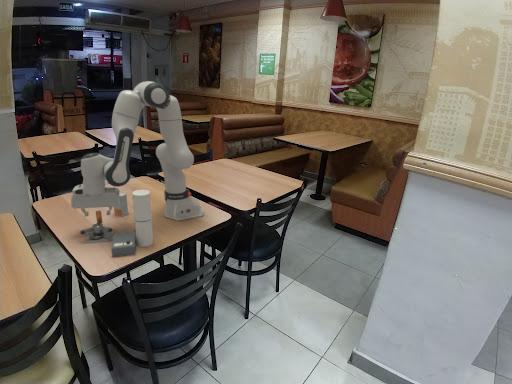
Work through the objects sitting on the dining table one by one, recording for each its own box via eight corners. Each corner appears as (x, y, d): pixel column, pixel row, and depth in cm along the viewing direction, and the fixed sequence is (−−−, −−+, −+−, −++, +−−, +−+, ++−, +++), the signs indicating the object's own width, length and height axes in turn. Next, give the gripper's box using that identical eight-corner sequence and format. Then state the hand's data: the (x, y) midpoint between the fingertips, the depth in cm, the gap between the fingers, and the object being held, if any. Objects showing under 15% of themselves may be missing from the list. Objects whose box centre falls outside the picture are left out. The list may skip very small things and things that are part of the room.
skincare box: (114, 214, 164) (111, 194, 160) (119, 211, 168) (117, 191, 164) (123, 216, 162) (120, 196, 158) (128, 213, 166) (126, 193, 162)
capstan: (115, 227, 151) (113, 209, 147) (113, 238, 140) (111, 220, 137) (85, 229, 146) (83, 211, 143) (81, 242, 136) (78, 222, 132)
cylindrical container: (133, 244, 138) (128, 193, 129) (144, 237, 144) (140, 188, 135) (146, 248, 135) (142, 196, 126) (156, 241, 142) (153, 191, 133)
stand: (136, 228, 152) (135, 218, 149) (135, 254, 130) (134, 242, 128) (88, 232, 145) (87, 222, 143) (78, 260, 124) (76, 248, 122)
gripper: (119, 185, 146) (121, 211, 150) (71, 186, 139) (75, 213, 144) (118, 189, 140) (121, 216, 145) (68, 191, 134) (72, 219, 138)
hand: (97, 215), depth 144 cm, fingers open, 8 cm apart
